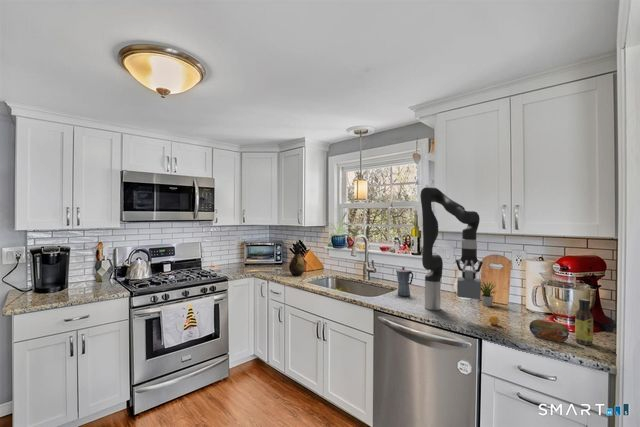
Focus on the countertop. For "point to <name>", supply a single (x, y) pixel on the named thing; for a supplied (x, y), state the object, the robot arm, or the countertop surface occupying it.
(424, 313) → the countertop surface
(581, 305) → the sauce bottle
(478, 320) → the countertop surface
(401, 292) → the moka pot
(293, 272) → the pineapple
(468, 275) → the stacked grey blocks
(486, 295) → the house plant
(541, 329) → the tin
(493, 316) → the ball
